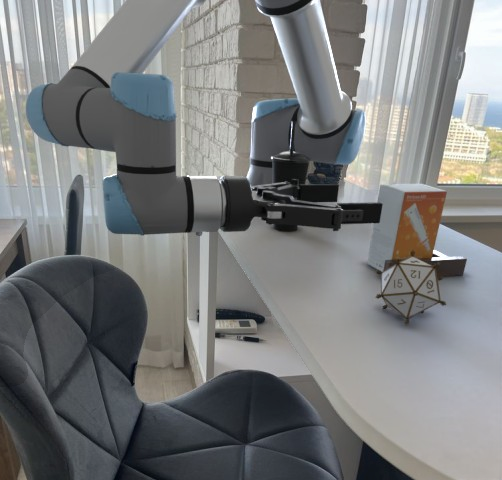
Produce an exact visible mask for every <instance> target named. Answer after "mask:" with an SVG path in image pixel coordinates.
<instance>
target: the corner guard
mask: <svg viewBox="0 0 502 480" xmlns="http://www.w3.org/2000/svg"><path fill="white" fill-rule="evenodd" d="M418 259H420V260H422V261H424V262H426V263H429V264H431V265H433V266H434V265H435V264H436V262H437V263H439V262H440V266H438V267H436V272H437V277H438V276H442V277H443V278H444V277H459V276H464V273H465V269H466V264H467V261H468V259H467V258H466V257H464V256H459V255H458V256H447V255H446V254H443V253H441V252H440V251H437V250H435V249H434V251H433V255H432V258H418ZM398 260H399V262H400V261H402V260H404V259H398ZM395 264H396V263H395V262H394V260H385V264H384V270H383V271H385V270H386V269H388V268H390V267H391V266H393V265H395Z"/></svg>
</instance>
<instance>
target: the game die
mask: <svg viewBox="0 0 502 480" xmlns="http://www.w3.org/2000/svg"><path fill="white" fill-rule="evenodd" d="M414 255H415V252H414V250H412V251H411V256H410V257H408V258H406V259H404V260H402V261H400V262H399V260H398V259H396V258H395V260H394V262H395V263H396V264H395V265H393V266H391V267H390V268H388V269H386V270H385V271H383V272H381V270H378V269H375V273H376V274H377V275H380V293H378V294H376V296H374V298H375V299H380V298H382V300H383V302H384V305H383V306H382V310H387V309H388V308H389V309H390V310H392V311H393V312H395V313H396V314H398V315H400V316H401V317H403V318H404V324H405V326H406V327H407V326H408V325H409V324H410V320H409V319H411V318H413V317H415V316H417V315H419V314H424V313H425V311H426V310H429V309H430V308H432V307H434V306H437V305H439V304H440V305H441V306H447V302H446V301H444V300H442V299H441V293H440V292H441V291H440V286H439V284H440V283H439V281H442V280H443V278H444V277H442V276H438V277H437V272H436V267H438V266H440V262H439V263H437V262H436V264H435V265H434V266H433V265H431V264H429V263H426V262H424V261H422V260H420V259H418V258H416V257H414Z"/></svg>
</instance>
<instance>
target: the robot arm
mask: <svg viewBox="0 0 502 480" xmlns="http://www.w3.org/2000/svg"><path fill="white" fill-rule="evenodd" d="M205 2H207V0H124V2H123V3H122V4H121V6H120V7H119V8H118V10H116V11H115V13H114V14H113V15H112V17H110V19H109V20H108V21H107V23H106V24H105V25H104V27H103V28H102V29H101V30H100V32H98V34H97V35H96V36H95V37H94V39H93V40H92V41H91V43H89V45H88V46H87V48H86V49H84V51H83V53H82V54H81V55H79V57H78V59H76V61H75V62H74V64H73V65H72V66H71V67H70V69H68V70H67V72H66V73H65V74H64V76H63V77H62V78H61V79H60V80H59V81H58V82H57V83H54V82H49V83H46V84H40V85H37V86H36V87H34V88H32V89H31V90H30V92H29V94H28V96H27V98H26V102H25V115H26V119H27V122H28V125H29V127H30V129H31V130H32V131H33V133H34V134H35V135H36V136H38V138H40V139H41V140H43V141H45V142H48V143H52V144H54V145H55V144H56V145H60V146H61V147H74V148H82V149H92V150H99V151H104V152H111V153H115V163H116V174H112V175H106V176H104V177H103V178H102V184H101V185H102V198H103V200H102V201H103V211H104V212H103V213H104V220H105V221H104V222H105V226H106V228H107V230H108V231H109V232H110V233H112V234H113V235H139V236H145V235H166V234H188V233H189V234H190V233H195V236H196V237H197V236H198V237H201V236H202V235H203V233H217V232H219V230H221V231H223V232H224V233H231V232H232V233H233V232H234V233H237V232H246V231H247V230H248V229H249V228H250V226H251V224H252V221H253V219H254V218H260V219H261V220H262V221H264V222H265V224H266V225H270V226H272V225H274V224H286V225H297V226H298V227H309V228H322V229H329V230H330V229H332V231H333V232H339V230H341V229H342V225H360V224H361V225H362V224H363V225H364V224H374V223H380V217H381V211H382V205H383V203H380V202H376V201H375V202H338V197H339V190H340V185H339V184H338V183H327V184H326V183H305V184H300V186H299V187H298V180H297V179H291V184H290V183H289V182H281V183H273V172H272V160H271V156H274V155H276V154H278V153H280V152H283V151H290V142H291V130H292V122H296V125H295V137H294V149H293V151H296V152H300V153H302V154H304V155H305V156H307V157H308V158H310V159H311V162H315V163H321V164H327V165H328V164H329V165H334V166H337V165H339V166H341V165H342V166H348V165H351V164H352V163H354V161H355V160H356V158H357V156H358V154H359V152H360V149H361V148H362V144H363V139H364V136H365V131H366V122H367V121H366V120H367V118H366V113H365V111H364V110H363V109H360V108H353V105H352V101H351V98H350V97H349V95H348V94H347V93H345V92H344V91H342V90H341V86H340V85H341V84H340V82H339V78H338V73H337V68H336V64H335V60H334V55H333V51H332V47H331V43H330V37H329V32H328V29H327V26H326V20H325V17H324V13H323V8H322V4H321V0H254V2H255V5H256V8H257V10H258V11H259V12H260V13H261V14H262V15H264V16H266V17H269V18H270V19H271V23H272V26H273V29H274V32H275V35H276V38H277V41H278V45H279V47H280V50H281V53H282V56H283V60H284V62H285V65H286V68H287V70H288V74H289V77H290V80H291V82H292V86H293V89H294V92H295V95H296V97H293V98H277V99H265V100H260V101H258V102H256V103H255V104H254V105H253V108H252V115H251V116H252V117H251V122H250V124H251V135H250V155H249V156H250V159H249V160H250V161H249V169H248V171H247V175H246V176H244V175H222V176H221V177H219V178H218V177H217V175H182V176H180V175H177V121H176V120H177V119H176V118H177V117H178V115H177V111H176V105H175V103H176V102H175V90H174V89H175V88H174V83H173V81H172V79H171V78H170V77H169V76H168V75H165V74H156V73H144V72H146V70H147V68H148V67H149V66H150V65H151V63H152V62H153V60H154V59H155V58H156V56H157V55H158V54H159V52H161V50H162V48H163V47H164V46H165V45H166V43H167V41H168V40H169V39H170V38H171V36H172V34H174V32H175V31H176V30H177V28H178V27H179V25H181V22H183V20H184V19H185V17H186V16H187V15H188V13H189V12H190V11H191V9H197V8H200V7H201V6H203V5H204V4H205ZM297 198H298V200H297ZM329 203H336V204H329Z"/></svg>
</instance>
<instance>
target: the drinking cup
mask: <svg viewBox="0 0 502 480" xmlns="http://www.w3.org/2000/svg"><path fill="white" fill-rule="evenodd" d="M295 125H296V122H292V130H291V142H290V151H283V152H280V153H278V154H276V155H274V156H271V160H272V172H273V183H281V182H289V183H290V184H291V179H297V180H298V187H299V186H300V184H307V183H306V182H307V176H308V171H309V166H310V163H311V162H312V161H311V159H310V158H308V157H307V156H305V155H304V154H302V153H300V152H296V151H293V149H294V137H295ZM297 200H298V198H297ZM298 227H299V226H297V225H286V224H273V229H274V230H277V231H281V232H294V231H297V230H298Z"/></svg>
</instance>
